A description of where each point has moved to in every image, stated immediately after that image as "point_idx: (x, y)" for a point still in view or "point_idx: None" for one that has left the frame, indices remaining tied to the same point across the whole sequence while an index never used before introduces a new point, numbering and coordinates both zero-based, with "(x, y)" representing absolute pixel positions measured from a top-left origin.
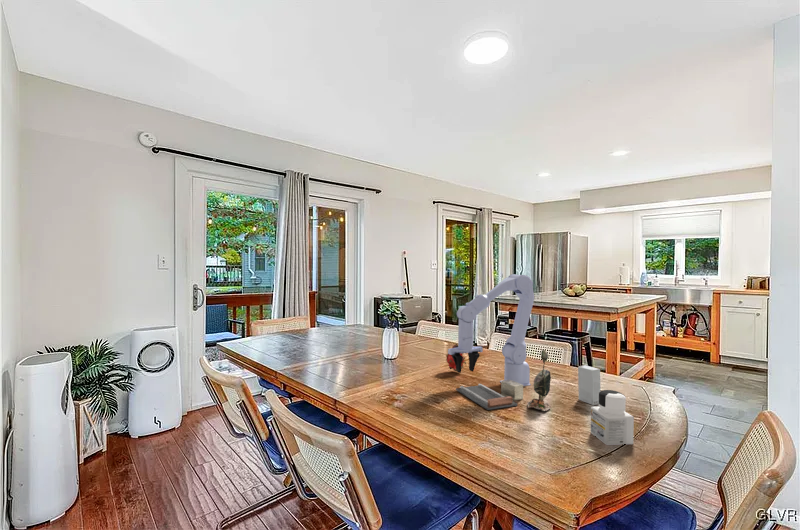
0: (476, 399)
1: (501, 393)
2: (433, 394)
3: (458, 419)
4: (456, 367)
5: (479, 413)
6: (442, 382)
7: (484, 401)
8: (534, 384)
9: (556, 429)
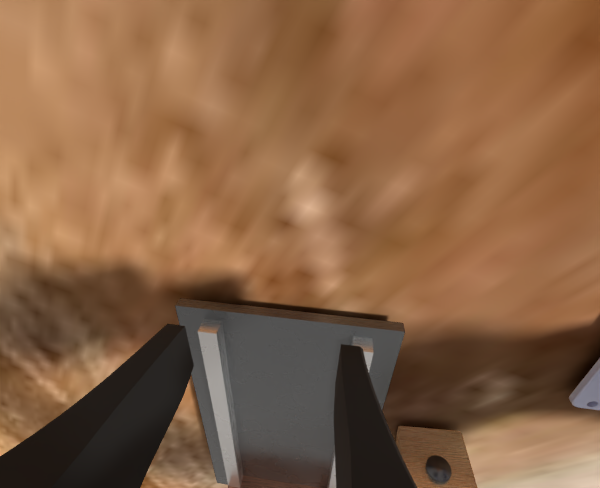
0: (217, 435)
1: (398, 434)
2: (33, 270)
3: None
4: (134, 365)
5: (189, 460)
6: (148, 50)
7: (227, 472)
8: None
9: None
